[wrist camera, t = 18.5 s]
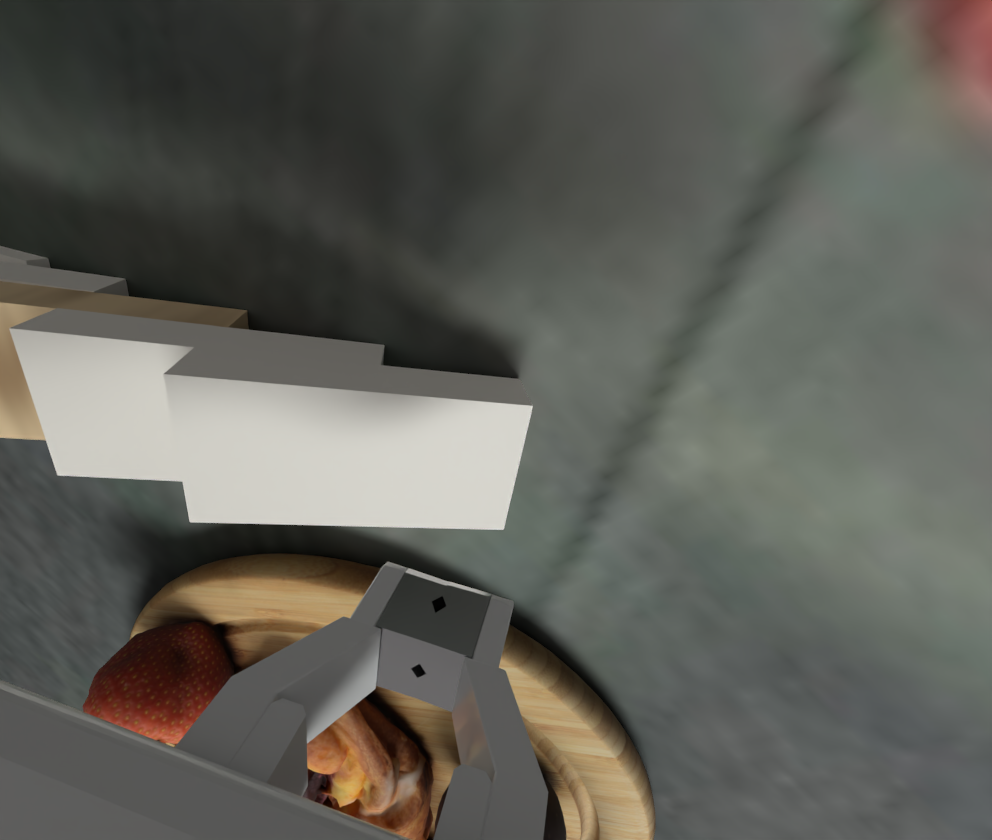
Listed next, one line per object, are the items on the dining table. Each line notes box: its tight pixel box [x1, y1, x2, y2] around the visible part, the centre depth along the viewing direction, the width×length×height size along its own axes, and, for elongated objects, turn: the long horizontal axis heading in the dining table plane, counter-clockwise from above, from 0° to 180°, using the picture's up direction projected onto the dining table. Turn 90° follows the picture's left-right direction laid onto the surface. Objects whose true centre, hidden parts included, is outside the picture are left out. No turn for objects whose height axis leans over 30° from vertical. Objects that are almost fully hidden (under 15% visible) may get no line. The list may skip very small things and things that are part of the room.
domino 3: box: [164, 347, 533, 530], centre depth 15 cm, size 5×2×10 cm
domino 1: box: [0, 281, 249, 440], centre depth 16 cm, size 5×2×10 cm
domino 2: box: [9, 308, 385, 481], centre depth 16 cm, size 5×2×10 cm
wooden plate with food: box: [83, 553, 655, 840], centre depth 25 cm, size 32×32×8 cm
